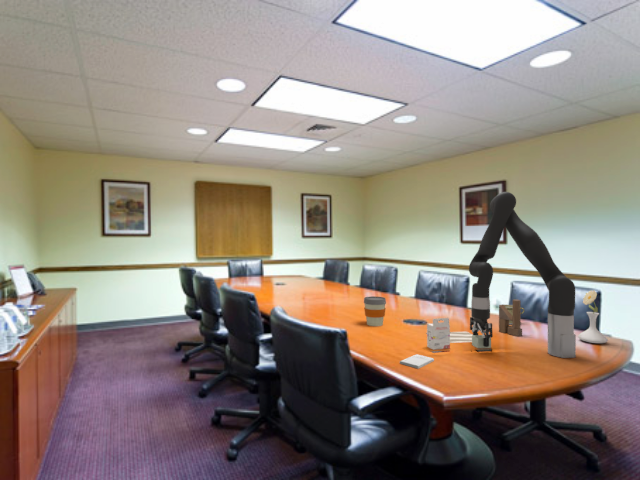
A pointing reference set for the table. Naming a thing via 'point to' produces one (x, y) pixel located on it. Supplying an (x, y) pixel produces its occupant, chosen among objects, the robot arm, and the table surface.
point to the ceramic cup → (511, 311)
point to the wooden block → (506, 316)
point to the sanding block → (480, 343)
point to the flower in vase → (592, 322)
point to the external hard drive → (417, 361)
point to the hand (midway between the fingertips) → (480, 343)
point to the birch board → (460, 337)
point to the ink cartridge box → (438, 335)
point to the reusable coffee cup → (374, 310)
